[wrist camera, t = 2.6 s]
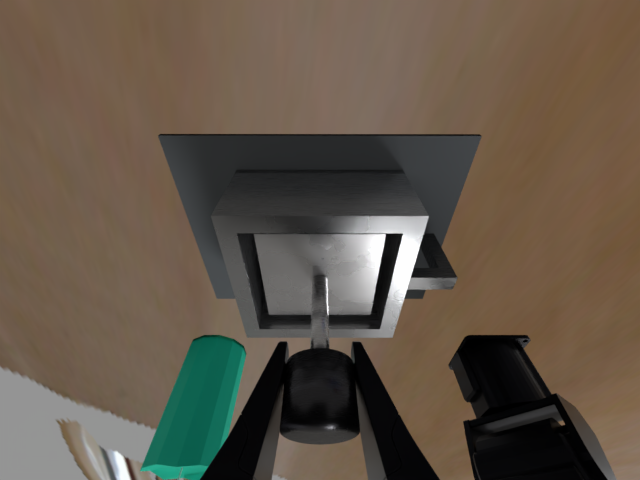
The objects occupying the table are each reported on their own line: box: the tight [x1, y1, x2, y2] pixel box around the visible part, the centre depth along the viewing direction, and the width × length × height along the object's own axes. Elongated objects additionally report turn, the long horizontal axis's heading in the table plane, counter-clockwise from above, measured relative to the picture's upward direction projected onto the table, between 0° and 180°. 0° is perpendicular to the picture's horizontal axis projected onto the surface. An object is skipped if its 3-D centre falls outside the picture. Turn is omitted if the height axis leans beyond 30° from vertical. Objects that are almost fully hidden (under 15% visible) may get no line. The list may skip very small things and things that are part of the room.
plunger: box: [254, 233, 386, 445], centre depth 13 cm, size 7×7×8 cm
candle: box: [140, 335, 247, 480], centre depth 25 cm, size 6×6×12 cm
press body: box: [211, 170, 458, 338], centre depth 18 cm, size 13×10×5 cm
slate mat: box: [158, 134, 482, 299], centre depth 20 cm, size 18×14×1 cm
